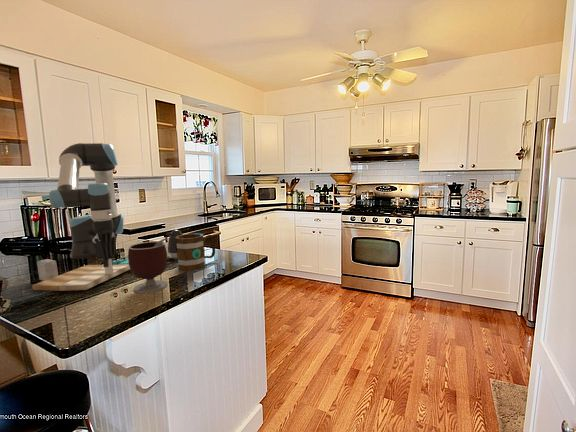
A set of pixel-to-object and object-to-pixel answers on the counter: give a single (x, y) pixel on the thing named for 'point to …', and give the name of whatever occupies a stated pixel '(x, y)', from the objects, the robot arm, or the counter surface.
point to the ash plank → (93, 278)
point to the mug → (192, 251)
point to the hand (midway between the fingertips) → (109, 273)
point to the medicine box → (47, 269)
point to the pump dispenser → (173, 243)
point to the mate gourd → (148, 264)
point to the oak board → (65, 278)
